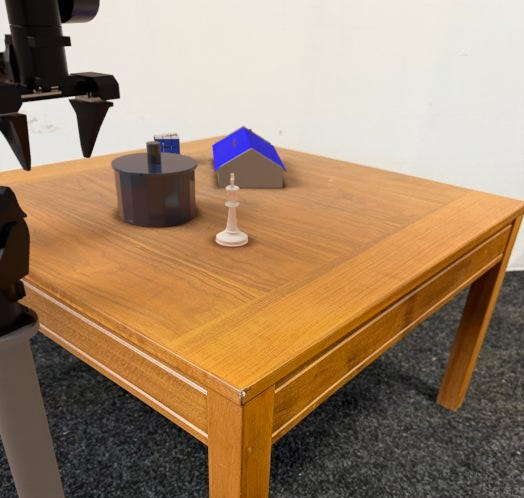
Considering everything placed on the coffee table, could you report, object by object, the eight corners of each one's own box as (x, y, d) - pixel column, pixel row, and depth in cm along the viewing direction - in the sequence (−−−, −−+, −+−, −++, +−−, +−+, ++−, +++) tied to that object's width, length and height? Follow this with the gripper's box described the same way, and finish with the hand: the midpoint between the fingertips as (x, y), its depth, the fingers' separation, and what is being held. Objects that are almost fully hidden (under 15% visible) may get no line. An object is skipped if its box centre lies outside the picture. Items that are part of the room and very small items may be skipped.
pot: (157, 233, 85) (154, 181, 81) (103, 214, 91) (97, 165, 87) (211, 213, 94) (210, 165, 89) (158, 197, 100) (155, 152, 95)
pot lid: (154, 186, 80) (152, 157, 78) (93, 169, 87) (89, 142, 85) (214, 168, 90) (214, 142, 88) (155, 154, 96) (153, 130, 94)
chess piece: (249, 235, 85) (250, 170, 80) (246, 247, 81) (248, 179, 76) (217, 234, 85) (217, 168, 80) (213, 245, 81) (213, 177, 76)
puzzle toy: (180, 159, 124) (179, 132, 121) (181, 164, 120) (180, 137, 117) (155, 159, 123) (153, 132, 120) (155, 165, 119) (153, 137, 116)
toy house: (212, 159, 125) (211, 125, 121) (273, 160, 126) (274, 126, 122) (215, 187, 106) (214, 148, 102) (286, 187, 108) (288, 148, 104)
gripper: (60, 21, 74) (77, 142, 82) (-83, 22, 61) (-45, 166, 69) (116, 26, 68) (128, 155, 77) (-27, 27, 55) (7, 183, 64)
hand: (58, 163), depth 72 cm, fingers open, 9 cm apart
